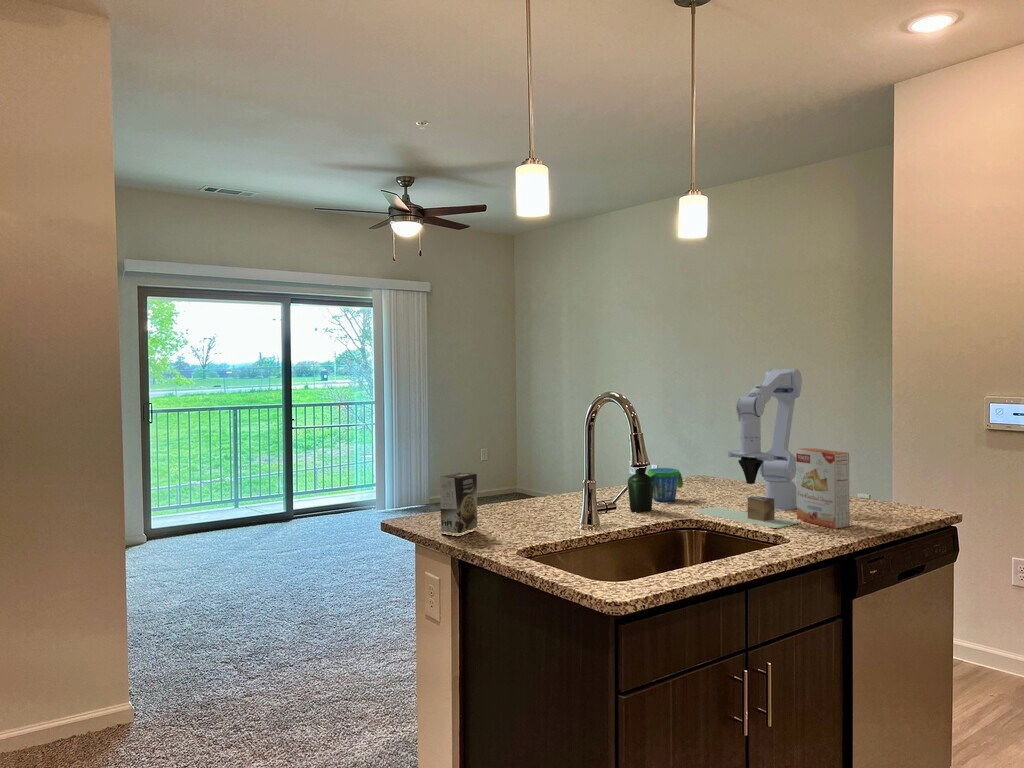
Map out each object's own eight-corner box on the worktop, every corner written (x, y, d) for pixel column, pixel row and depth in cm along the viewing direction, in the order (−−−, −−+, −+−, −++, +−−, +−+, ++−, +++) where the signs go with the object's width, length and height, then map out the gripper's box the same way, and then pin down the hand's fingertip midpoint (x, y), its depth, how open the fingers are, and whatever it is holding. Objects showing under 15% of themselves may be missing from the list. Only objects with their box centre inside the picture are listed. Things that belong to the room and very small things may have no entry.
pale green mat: (715, 507, 230) (715, 506, 230) (800, 523, 206) (800, 522, 206) (690, 512, 223) (689, 511, 223) (775, 529, 199) (775, 527, 199)
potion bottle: (647, 508, 232) (646, 451, 231) (658, 512, 224) (658, 454, 223) (623, 509, 230) (623, 452, 229) (634, 514, 222) (633, 455, 221)
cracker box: (795, 520, 210) (794, 448, 210) (811, 518, 213) (810, 447, 212) (834, 529, 198) (833, 453, 197) (850, 527, 200) (850, 451, 200)
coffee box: (459, 537, 194) (458, 477, 194) (440, 535, 198) (439, 476, 198) (478, 531, 202) (477, 473, 202) (459, 528, 206) (459, 471, 205)
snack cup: (654, 504, 237) (654, 473, 237) (635, 499, 247) (635, 469, 247) (692, 500, 244) (692, 470, 244) (672, 495, 254) (672, 466, 253)
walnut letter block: (774, 498, 210) (774, 519, 210) (758, 496, 214) (758, 516, 214) (763, 500, 207) (763, 521, 207) (747, 498, 211) (747, 518, 212)
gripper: (721, 436, 217) (721, 481, 217) (763, 440, 205) (763, 488, 205) (736, 435, 221) (736, 479, 221) (778, 438, 209) (778, 485, 209)
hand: (750, 483), depth 213 cm, fingers closed
